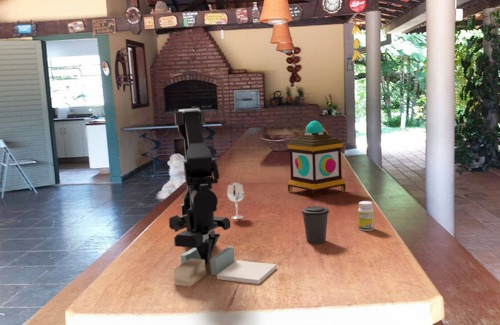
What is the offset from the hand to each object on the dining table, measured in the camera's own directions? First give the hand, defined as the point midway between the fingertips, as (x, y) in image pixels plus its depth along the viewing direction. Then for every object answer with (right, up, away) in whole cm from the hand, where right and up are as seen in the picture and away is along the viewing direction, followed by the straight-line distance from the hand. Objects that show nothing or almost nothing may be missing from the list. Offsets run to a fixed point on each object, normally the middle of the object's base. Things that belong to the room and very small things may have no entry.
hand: (205, 263), depth 134 cm
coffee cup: (+31, +3, +18) cm, 36 cm away
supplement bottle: (+47, +5, +27) cm, 55 cm away
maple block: (-3, -3, -8) cm, 9 cm away
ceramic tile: (+11, -1, -6) cm, 12 cm away
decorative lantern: (+39, +13, +86) cm, 95 cm away
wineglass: (+7, +6, +50) cm, 50 cm away
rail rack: (+1, -1, +1) cm, 2 cm away
